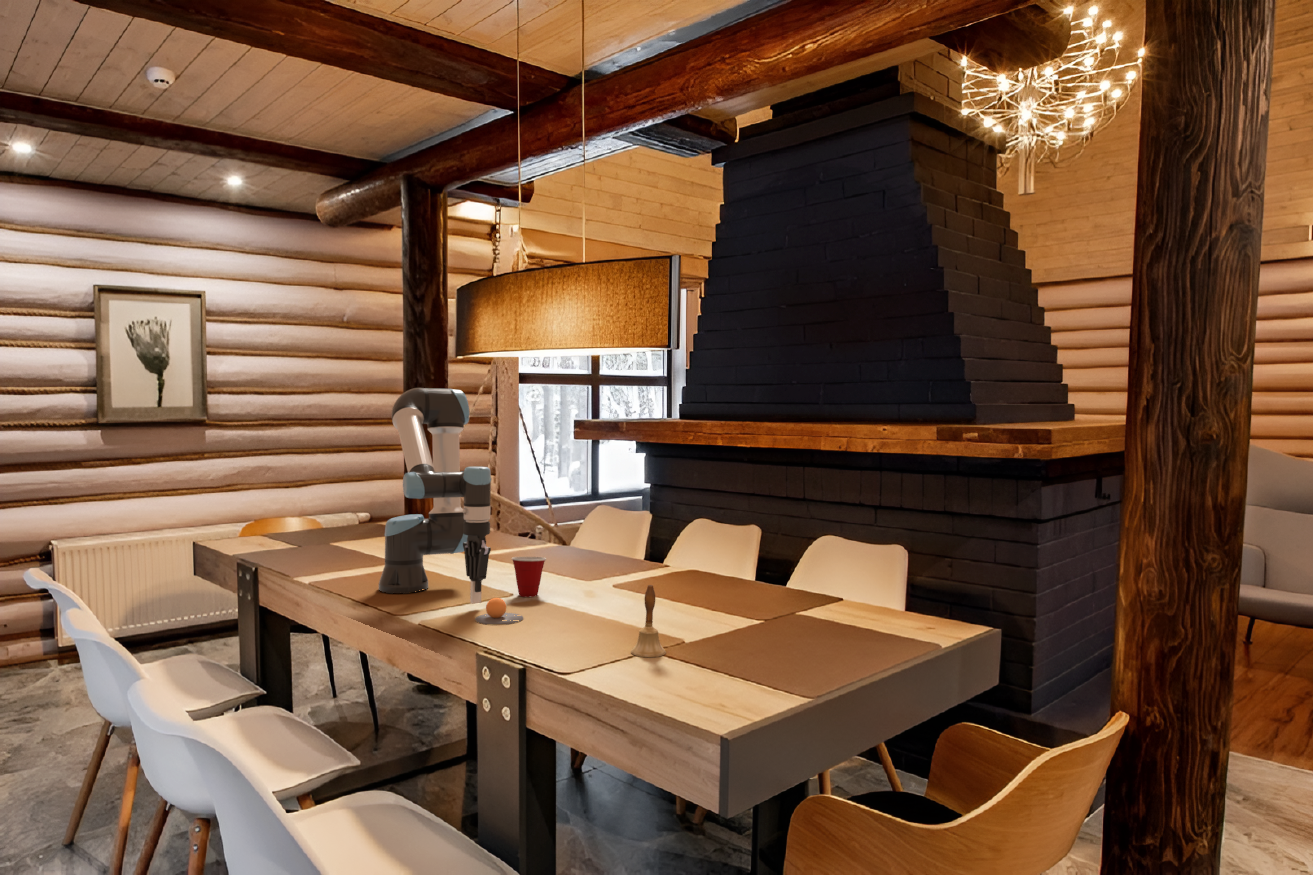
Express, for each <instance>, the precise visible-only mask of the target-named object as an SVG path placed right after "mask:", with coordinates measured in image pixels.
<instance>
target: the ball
mask: <svg viewBox="0 0 1313 875" xmlns="http://www.w3.org/2000/svg"><path fill="white" fill-rule="evenodd" d="M485 611H486V614H488V615H489V616H490V617H492V618H499V617H501V616H503V615H504V614H505V613H507V612H506V611H507V603H506V602H505V600H504V599H502V598H501V597H493V598H491V599H490V600H489V601H487V604H486V606H485Z"/></svg>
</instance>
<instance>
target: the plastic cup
mask: <svg viewBox="0 0 1313 875" xmlns="http://www.w3.org/2000/svg"><path fill="white" fill-rule="evenodd" d="M511 560H512V563H513V567H514V573H515V580H516V586H517V591H518V596H519V597H522V598H534V597H536V596H538V594H539V590H540V584H541V580H542V573H543V568H544V565H545V562H546V561H547V558H546V557H544V556H543V557H542V556H513V557H511Z"/></svg>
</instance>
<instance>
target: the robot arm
mask: <svg viewBox="0 0 1313 875" xmlns="http://www.w3.org/2000/svg"><path fill="white" fill-rule="evenodd" d="M464 392H465V391H464ZM464 392H463V391H462V390H461V389H453V388H429V387H425V388H424V387H414V388H411V389H408V390H405V392H403V393H402V394H401V395H400V396H399V397H398V398H397V399H396V400H395V402H394V404H393V406H392V409H391V417H390V418H391V422H392V424H393V427H394V428H395V429H396V430H397V433H398V436H399V440H400V445H401V450H402V453H403V457H404V462H405V465H406V470H407V472H405V473H404V475H403V479H402V488H403V490H402V492H403V495H404V497H405V498H408V499H418V500H421V499H433V507H432V509H431V510H430V511H429V512H428V518H425V517H424V515H423V514H421V513H420V514H418V513H416V514H405V515H400V516H396V517H392V518H389V519H387V521H386V522H385V528H384V533H383V534H384V567H383V570H382V573H381V576H380V579H379V582H378V591H379V590H380V591H382V592H381V593H384V592H386V593H385V594H393V593H403V594H410V593H409V592H415V591H419V590H422V589H426V590H428V589H429V579H428V576H427V573H426V569H425V566H424V556H431V555H447V554H448V555H449V554H450V555H454V554H459V553H464V561H465V562H464V563H465V572H466V577H469V578H468V579H469V580H470V593H469V594H470V600H469V602H470V603H469V604H471V605H474V604H481V603H482V587H483V584H482V581H483V580H486V578H487V572H488V566H489V557H490V553H491V550H492V548H491V547H490V546H487V538H486V536H488V535H490V534H491V522H490V521H489V520H491V497H492V496H491V489H492V485H491V484H492V483H491V482H492V475H491V468H490V467H488V466H467V467H465V468H464V470H461V468H460V467H461V460H460V459H461V458H460V434H461V433H462V432H463V431H464V428H465V425H467V424H468V423H469V421H470V406H469V401H468V399H467V398H468V397H467V396H466V394H465V393H464ZM424 424H425V425H427V431H428V432H429V433H431V436H432V455H431V451H430V448H429V444H428V441H427V437H426V433H425V430H424V426H423V425H424ZM461 498H463V508H462V505H461V504H462V503H461V502H462V500H461ZM427 588H428V589H427ZM380 591H379V592H380ZM415 593H416V592H415Z"/></svg>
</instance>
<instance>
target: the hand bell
mask: <svg viewBox="0 0 1313 875" xmlns="http://www.w3.org/2000/svg"><path fill="white" fill-rule="evenodd" d="M655 605H656V593H655V588H654V585H652V584H649V585H647V589H646V590H645V594H644V607H645V611H646V612H645V613H646V614H645V615H646V616H645V622H644V625H645V626H644V627H642V628H640V629H639V631H638V638H637V641H636V644H635V645H634V647H632V648H631V650H630V653H631V655H633V656H636V657H642V658H659V657H663V656H665V655H666V653H667V651H666V649H665V648H664V647H663V646H662V644H661V642H660V638H659V637H660V636H659V630H658V629H657V628H655V627H654V626H653V622H654V621H653V620H654V616H653V614H654V608H655Z"/></svg>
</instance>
